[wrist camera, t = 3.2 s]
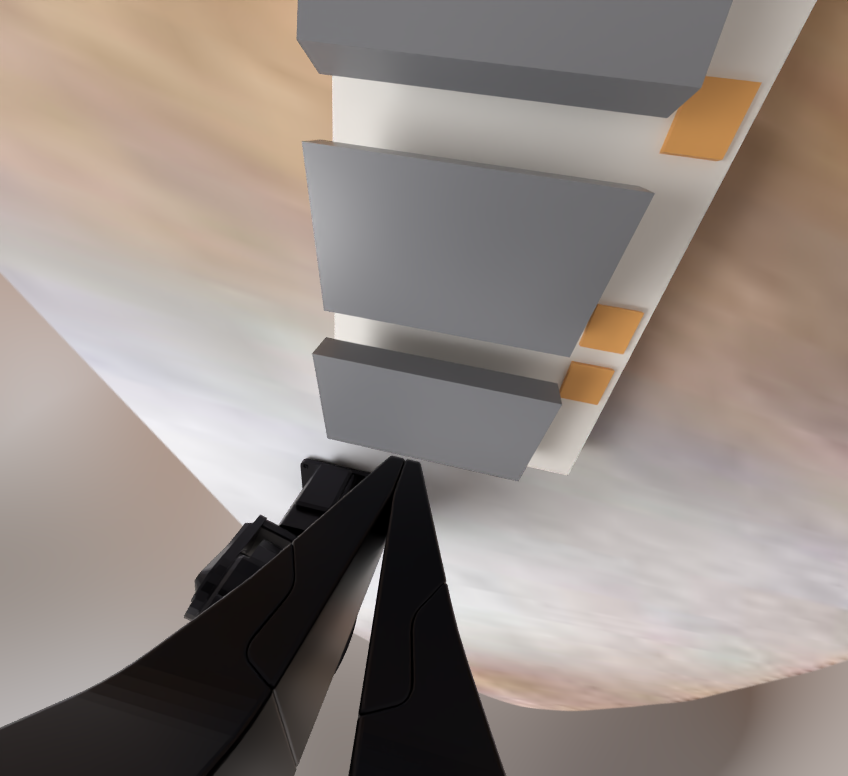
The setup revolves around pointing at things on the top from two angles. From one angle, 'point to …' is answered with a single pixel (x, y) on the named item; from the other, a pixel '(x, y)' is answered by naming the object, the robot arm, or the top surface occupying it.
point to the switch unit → (593, 159)
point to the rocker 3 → (433, 408)
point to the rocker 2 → (465, 243)
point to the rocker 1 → (523, 47)
